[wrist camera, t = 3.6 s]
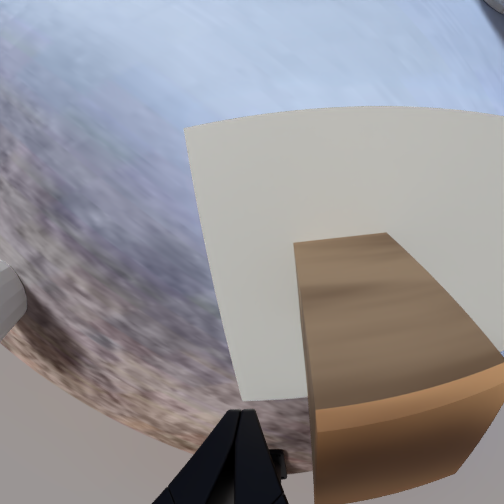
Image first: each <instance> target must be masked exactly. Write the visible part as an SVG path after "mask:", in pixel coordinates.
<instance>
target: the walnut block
mask: <svg viewBox="0 0 504 504" xmlns="http://www.w3.org/2000/svg"><path fill="white" fill-rule="evenodd" d="M293 247H294V256H295V266H296V276H297V287H298V298H299V310H300V322H301V332H302V341H303V351H304V361H305V371H306V382H307V393H308V405H309V417H310V431H311V445H312V461H313V479H314V502H315V504H346V503H353V502H358V501H364V500H368V499H373V498H378V497H382V496H386V495H390V494H394V493H398V492H402V491H405V490H408V489H412V488H415V487H419V486H422V485H425V484H428V483H431V482H433V481H436V480H439V479H442V478H445V477H447V476H450V475H452V474H455V473H456V472H457V471H458V469H459V468H460V467H461V466H462V464H463V463H464V462H465V460H466V459H467V458H468V457H469V455H470V454H471V452H472V451H473V450H474V448H475V447H476V445H477V444H478V443H479V441H480V440H481V438H482V437H483V435H484V433H485V432H486V431H487V429H488V428H489V426H490V425H491V423H492V421H493V420H494V418H495V416H496V415H497V413H498V412H499V410H500V408H501V406H502V405H503V403H504V357H503V356H502V355H501V353H500V352H499V351H498V350H497V348H496V347H495V346H494V345H493V343H492V342H491V341H490V340H489V338H488V337H487V336H486V335H485V334H484V332H483V331H482V330H481V329H480V328H479V327H478V325H477V324H476V323H475V322H474V321H473V320H472V318H471V317H470V316H469V315H468V314H467V313H466V312H465V311H464V309H463V308H462V307H461V306H460V305H459V304H458V303H457V302H456V301H455V300H454V298H453V297H452V296H451V295H450V294H449V293H448V292H447V291H446V290H445V289H444V288H443V287H442V286H441V285H440V284H439V283H438V282H437V281H436V280H435V279H434V278H433V277H432V275H431V274H430V273H429V272H428V271H427V270H426V269H425V268H424V267H423V266H421V265H420V264H419V263H418V262H417V261H416V260H415V259H414V258H413V257H412V256H411V255H410V254H409V253H408V252H407V251H406V250H405V249H404V248H403V247H402V246H401V245H400V244H399V243H397V242H396V241H395V240H394V239H393V238H392V237H391V236H390V235H389V234H388V233H387V232H385V233H376V234H367V235H358V236H349V237H340V238H331V239H322V240H313V241H304V242H295V243H293Z"/></svg>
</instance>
